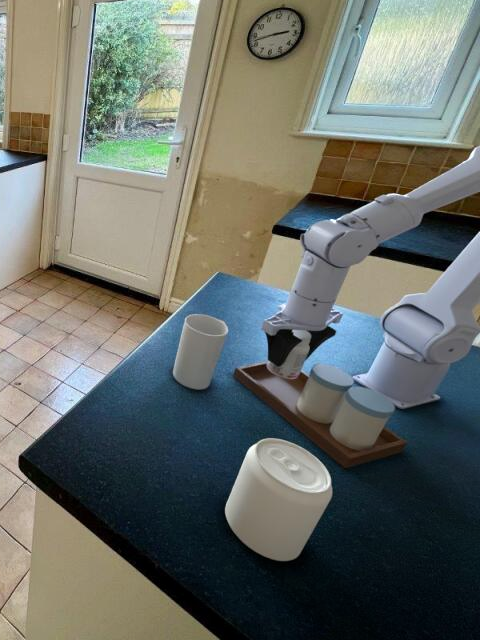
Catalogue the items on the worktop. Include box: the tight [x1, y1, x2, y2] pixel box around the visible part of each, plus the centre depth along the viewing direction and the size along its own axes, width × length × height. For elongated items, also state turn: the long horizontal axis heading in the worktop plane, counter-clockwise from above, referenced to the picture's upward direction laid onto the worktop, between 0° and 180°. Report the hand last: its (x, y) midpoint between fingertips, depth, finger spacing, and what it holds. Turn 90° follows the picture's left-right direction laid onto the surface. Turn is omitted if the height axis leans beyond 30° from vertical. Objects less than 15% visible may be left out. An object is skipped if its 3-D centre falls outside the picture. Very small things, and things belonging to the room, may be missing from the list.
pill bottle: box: [267, 330, 311, 379], centre depth 72 cm, size 5×5×8 cm
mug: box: [172, 313, 229, 390], centre depth 75 cm, size 10×7×12 cm, turn 118°
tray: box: [232, 360, 408, 469], centre depth 70 cm, size 11×20×2 cm, turn 14°
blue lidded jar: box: [330, 386, 396, 451], centre depth 62 cm, size 5×5×8 cm
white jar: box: [297, 363, 355, 423], centre depth 67 cm, size 5×5×8 cm
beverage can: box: [224, 437, 333, 562], centre depth 50 cm, size 8×8×12 cm
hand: (286, 360), depth 73 cm, fingers closed on pill bottle, 5 cm apart
